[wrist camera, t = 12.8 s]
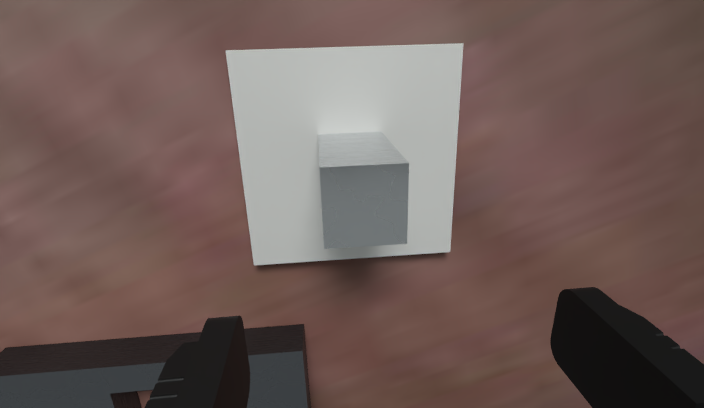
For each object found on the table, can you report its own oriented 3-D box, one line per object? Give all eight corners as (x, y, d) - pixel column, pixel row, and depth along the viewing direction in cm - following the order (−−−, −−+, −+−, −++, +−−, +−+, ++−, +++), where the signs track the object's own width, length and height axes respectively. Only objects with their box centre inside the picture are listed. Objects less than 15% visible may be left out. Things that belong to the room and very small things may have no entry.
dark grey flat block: (45, 445, 33) (20, 481, 30) (5, 347, 29) (-28, 378, 27) (312, 419, 34) (311, 451, 32) (303, 324, 31) (302, 350, 28)
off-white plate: (256, 258, 29) (253, 265, 28) (229, 50, 24) (225, 50, 23) (445, 245, 30) (449, 252, 29) (457, 44, 25) (463, 43, 24)
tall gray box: (321, 194, 26) (324, 249, 19) (318, 134, 25) (319, 167, 17) (381, 191, 27) (407, 243, 19) (381, 131, 25) (409, 163, 18)
